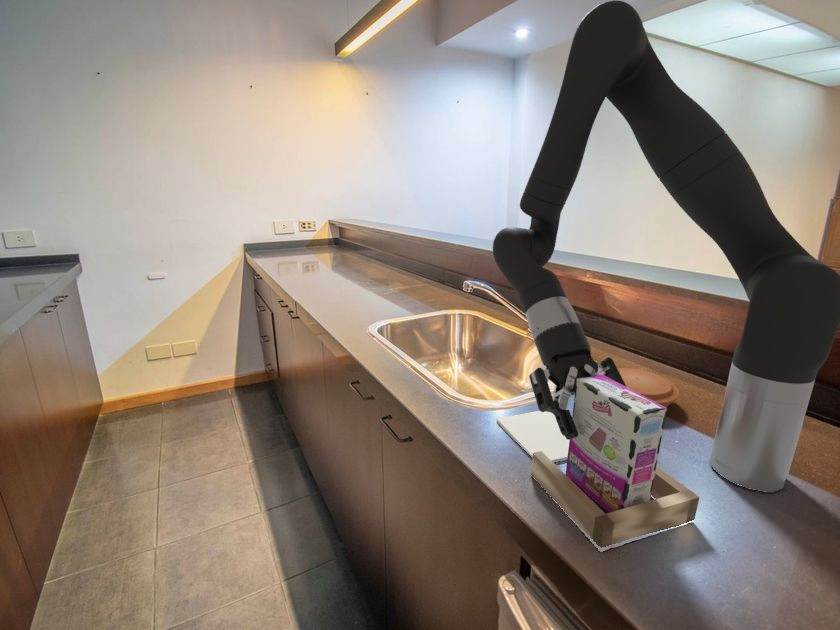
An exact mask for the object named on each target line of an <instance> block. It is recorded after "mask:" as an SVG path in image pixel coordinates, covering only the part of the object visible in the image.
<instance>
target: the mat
mask: <svg viewBox="0 0 840 630" xmlns="http://www.w3.org/2000/svg"><path fill="white" fill-rule="evenodd" d="M496 423H497V424H498V425H499V426H500V427H501V428H502V429H503V430H504V431H505V432H506V434H508V435H509V436H510V437H511V438H512V440H513V441H514V442H515V443H516V442H517V443H518V444H519V445H520V446H521V447H522V448H521V447H520V448H521V449H522V450H523V449H524V450H525V451H526V452H527V453H528V454H529V455H530V456H531V457H532V456H533V453H535V452H539V451H542V452H543V453H544V454H545V455H546V456H547V457H548V458H549V459H550V460H551V461H552V462H553V463H554V464H555V462H556V463H559V461H560V462H563V461H567V457H568V450H569V442H570V439H569V440H568V439H566V437H565V436H563V435H562V433H561V431H560V428H559V426H558V423H557V421H556V418H555V416H554V414H553V413H551V412H546V411H545V412H541V411H540V410H537V411H531V412H525V413H519V414H515V415H509V416H504V417H499V418H496ZM517 443H516V444H517ZM518 444H517V445H518ZM519 445H518V446H519ZM524 450H523V451H524ZM525 451H524V452H525ZM526 452H525V453H526ZM527 453H526V454H527ZM528 454H527V455H528ZM529 455H528V456H529ZM530 456H529V457H530ZM531 457H530V458H531Z"/></svg>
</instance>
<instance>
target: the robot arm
mask: <svg viewBox="0 0 840 630" xmlns="http://www.w3.org/2000/svg"><path fill="white" fill-rule="evenodd" d="M565 65H566V66H565V71H564V74H563V78H562V82H561V86H560V91H559V93H558V97H557V101H556V104H555V107H554V109H553V113H552V117H551V121H550V122H549V126H548V129H547V132H546V134H545V138H544V141H543V143H542V145H541V148H540V150H539V153H538V156H537V159H536V161H535V163H534V166H533V169H532V170H531V173H530V175H529V178H528V180H527V183H526V185H525V188H524V191H523V193H522V196H521V198H520V201H519V208H520V210H521V211H522V212H523V214H525V215H527V216H529V217H531V218H530V225H529V228H522V227H517V226H516V227H515V226H508V227H504V228H502V229H500V230H499V231H498V233H496V235H495V237H494V239H493V243H492V253H493V258H494V261H495V263H496V266H497V268H499V270H500V272H501V273H502V275H503V276H504V277H505V279H506V280H507V282H508V283H509V285H510V287H512V289H513V290H514V291H515V292H516V294H517V295H518V298H519V300H520V303H521V306H522V309H523V311H524V313H525V317H526V320H527V324H528V329H529V331H530V333H531V336H532V340H533V341H534V345H535V347H536V350H537V352H538V355H539V357H540V360H541V363H542V365H543V366H544V367H545V368H546V369H543V368H542V367H537V368H536V369H534V371H532V372H531V373H530V374H529V376H528V377H529V378H528V379H529V382H530V385H531V387H532V391H533V395H534V397H535V401H536V404H537V407H538V411H541V412H545V411H546V412H551V413H553V414H554V416H555V418H556V421H557V423H558V426H559V428H560V431H561V433H562V435H563V436H565V437H566V439H568V440H569V439H573V438H575V437H577V436H578V432H577V429H576V426H575V424H574V421H573V419H572V413H571V411H570V409H567V407H568V403H569V399H570V397H571V396H575V389H576V381H577V380H576V379H578V378H584V377H589V376H594V375H600V374H603V375H604V376H606V377H608V378H610V379H612V380H614V381H616V382H618V383H620V384H622V385H624V386H626V385H625V383H624V381H623V379H622V377H621V375H620V373H619V371H618V369H617V368H618V367H617V365H616V363H615V362H614V360H613V358H611V357H610V356H608V357H606V358H604V359H602V360H599V361H596V360H594V358H593V357H592V355H591V348H592V347H591V345H590V343H589V341H588V338H587V336H586V333H585V332H584V329H583V327H582V325H581V323H580V321H579V318H578V316H577V313H576V312H575V309H574V308H573V306H572V304H571V303H570V301H569V300H568V297H567V295H566V293H565V291H564V288H563V286H562V284H561V282H560V280H559V277H558V276H557V274H555V273H554V272H553V271H552V270H549V269H547V268H545V267H544V266H546V265H547V264H548V263H549V262H550V259H551V258H552V256H553V255H554V252H555V249H556V248H555V247H556V243H557V238H558V232H559V226H560V221H561V220H560V219H561V213H562V211H563V209H564V207H565V205H566V202H567V200H568V199H569V196H570V193H571V192H572V189H573V187H574V184H575V182H576V180H577V177H578V175H579V173H580V172H579V171H580V170H581V169H580V168H581V166H582V162H583V160H584V155H585V152H586V148H587V145H588V141H589V138H590V135H591V133H592V129H593V126H594V123H595V121H596V118H597V116H598V114H599V111H600V109H601V107H602V105H603V103H604V101H605V99H607V100H608V101H609V102H610V103H611V104H612V106H614V107H615V108H616V110H617V111H618V112H619V113H620V114H621V115H622V117H623V118H624V119H625V120H626V122H627V124H628V125H629V128H630V129H631V131H632V133H633V135H634V138H635V139H636V141H637V143H638V146H639V148H640V150H641V152H642V154H643V156H644V157H645V159H646V161H647V163H648V164H649V166H650V167H651V168H650V169H651V170H652V171H653V173H654V174H655V176H656V178H658V179H659V181H660V182H661V184H662V185H663V187H664V188H665V190H666V191H667V192H668V194H670V196H671V198H672V199H673V200H674V201H675V202H676V204H677V205H678V206H679V207H680V208H681V209H682V210H683V211H684V212H685V214H686V215H687V216H688V217H689V218H690V219H691V220H692V221H693V222H694V223H695V224H696V225H697V226H698V227H699V228H700V229H701V230H702V231H703V232H705V234H706V235H707V236H708V237H709V238H710V239H712V241H713V242H714V243H715V244H716V245H717V246H718V248H720V250H721V251H722V253H723V254H724V256H725V258H726V259H727V260H728V262H729V264H730V266H731V267H732V269H733V271H734V272H735V275H736V276H737V278H738V280H739V281H740V283H741V285H742V287H743V289H744V292H745V294H746V297H747V299H748V300H749V305H748V310H747V313H746V318H745V323H744V327H743V330H742V334H741V337H740V340H739V342H738V343H736V346H735V348H734V352H733V356H732V359H731V360H732V361H731V365H730V369H729V373H728V378H727V383H726V386H725V391H724V396H723V401H722V405H721V408H720V409H721V410H720V412H719V413H720V414H719V417H718V423H717V426H716V432H715V435H714V440H713V443H712V447H711V452H710V457H709V462H710V463H709V465H710V464H711V465H710V467H711V466H712V467H713V469H714V470H716V471H717V472H718V473H719V474H721V475H722V476H723V477H725V478H726V479H728V480H729V481H731V482H734V483H736V484H739V485H742V486H744V487H747V488H751V489H755V490H759V491H767V492H766V493H775V492H774V491H777V492H779V491H778V490H780V489H781V490H782V489H784V486H785V484H786V477H787V476H788V477H789V475H790V474H789V473H790V469H791V467H792V464H793V460H794V456H795V454H796V453H795V452H796V449H797V446H798V444H799V439H800V437H801V432H802V429H803V424H804V419H805V417H806V413H807V410H808V407H809V403H810V399H811V396H812V393H813V392H812V391H813V388H814V385H815V381H816V379H817V375H818V373H819V370H820V369H821V368H822V367H823V365H824V364H825V362H826V361H827V359H828V357H829V355H830V352H831V350H832V348H833V344H834V341H835V339H836V336H837V332H838V330H839V327H840V274H839V273H838V272H837V270H835V269H834V268H832V267H831V266H829V265H827V264H825V263H824V262H822V261H820V260H818V259H817V258H815V257H814V256H813V255H812V254H810V253H809V252H808V251H807V250H806V249H805V248H804V247H803V246H802V245H801V244H800V243H799V242H798V241H797V240H796V239H795V237H793V236H792V234H791V233H790V232H789V231H788V230H787V229H786V227H784V225H782V223H781V222H780V221H779V219H778V218H777V217H776V215H775V214H774V212H773V211H772V209H771V207H770V205H769V202H768V201H767V198H766V195H765V194H764V192H763V190H762V186H761V185H760V183H759V181H758V178H757V177H756V175H755V172H754V171H753V170H752V168H751V166H750V164H749V163H748V161H747V160H746V157H744V155H743V153H742V152H741V151H740V149H739V148H738V146H737V145H736V144H735V143H734V141H733V140H732V138H731V137H730V136H729V135H728V133H727V132H726V131H725V130H724V128H723V127H722V126H721V124H720V123H719V122H717V121H716V120H715V118H714V117H712V115H711V114H710V113H708V111H707V110H706V109H705V108H703V107H702V106H701V105H700V104H699V103H698V102H697V101H695V100H694V99H693V98H692V97H690V96H689V94H687V93H686V92H685V91H683V90H682V88H680V87H679V86H678V85H677V84H676V83H675V81H674V80H673V79H672V78H671V76H670V75H669V73H668V71H667V70H666V69H665V67H664V65H663V64H662V62H661V60H660V59H659V57H658V56H657V54H656V51H655V50H654V47H653V46H652V44H651V42H650V40H649V37H648V36H647V32H646V29H645V27H644V25H643V21H642V18H641V17H640V15H639V12H638V11H637V10H636V9H635V8H634V6H632V5H631V4H630V3H628V2H625V1H622V0H608V1H604V2H603V3H600V4H598V5H596V6H595V7H593V8H592V9H591V10H590V11H588V12H587V13H586V14H585V16H584V17H583V18H582V20H580V22H579V24H578V26H577V28H576V30H575V32H574V35H573V38H572V41H571V46H570V49H569V54H568V57H567V62H566V64H565ZM548 382H551V383H552V384H553V385H555V386H554V389H553V393H552V392H551V390H550V385H549V383H548ZM626 387H627V386H626ZM712 467H711V468H712ZM713 469H712V470H713ZM714 470H713V471H714ZM723 477H722V478H723ZM788 477H787V478H788ZM726 479H725V480H726ZM728 480H727V481H728ZM729 481H728V482H729ZM731 482H730V483H731ZM736 484H735V485H736ZM781 490H780V491H781ZM759 491H758V492H759Z"/></svg>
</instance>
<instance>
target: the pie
mask: <svg viewBox="0 0 840 630" xmlns="http://www.w3.org/2000/svg"><path fill="white" fill-rule="evenodd" d="M617 369H618V371H619V373H620V375H621V377H622V379H623V381H624V383H625V385H626V386H627V388H629V389H631V390H633V391H635V392H637V393H639V394H641V395H643V396H645V397H647V398H649V399H651V400H652V401H654V402H656V403H658V404H660V405H662V406H664V407H666V408H667V407H668V406H670V405H671V404H672V403H674V402H676V401H677V400H678V399H679V397H680V396H681V393H680V392H681V391H680V389H679V388H678V387H677V386H676V385H675V384H674V383H673V382H671V381H670V380H668V379H667V378H665V377H663V376H661V375H659V374H656V373H654V372H650V371H647V370H643V369H640V368H639V369H638V368H632V367H617Z"/></svg>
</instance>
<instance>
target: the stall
mask: <svg viewBox="0 0 840 630" xmlns="http://www.w3.org/2000/svg"><path fill="white" fill-rule="evenodd" d="M530 469H531V470H530V476H531V475H532V476H533V477H534V478H535V479H536V480H537V482H538V483H539V484H540V485H541V486H542V487H543V488H544V489H545V490H546V491H547V493H549V495H550V496H551V497H552V498H553V499H554V500H555V501H556V502H557V503H558V505H560V506H561V508H563V509H564V511H565V512H566V513H567V514H568V515H569V516H570V517H571V518H572V519H573V520H574V521H575V523H577V524H578V525H579V527H580V528H582V529H583V530H584V531H585V532H586V533H587V534H588V535H589V536H590V538H591V539H593V541H594V542H596V544H597V545H598V546H600V547H601V548H602V547H606V546H609V545H612V544H616V543H620V542H622V541H626V540H629V539H631V538H635V537H639V536H642V535H646V534H649V533H653V532H657V531H660V530H664V529H668V528H671V527H676V526H679V525H681V524H684V523H687V522H689V521H692V520H694V519H696V513H697V511H698V510H697V509H698V506H699V501H700V496H699V495H697V494H696V493H695V492H694V491H693V490H691V489H689V488H688V487H686V486H685V485H684V484H682V483H681V482H679V480H677V479H675V478H674V476H673V477H672V476H671V475H670V474H668V473H667V472H665V470H663V469H662V468H660V467H659V466H658V465H656V471H655V476H654V482H653V487H652V492H651V495H652V496H653V497H654V498H656V499H655V500H654V499H652V500H651V499H650V501H648V502H645V503H641V504H638V505H634V506H631V507H628V508H624V509H621V510H617V511H614V512H610V513H606V512H605V511H604V510H603V509H601V508H600V507H599V506H598V505H597V504H596V503H595V502H594V501H593V500H591V499H590V498H589V497H588V496H587V495H586V494H585V493H584V492H583V491H582V490H581V489H580V488H579V487H578V486H577V485H576V484H574V483H573V482H572V481H571V480H570V479H569V478H568V477H567V476H566V473H565V472H563V471H562V470H561V469H560V468H559V467H558V465H556V464H555V463H553V462H552V461H551V460H550V459H549V458H548V457H547V456H546V455H545V454H544V453H543V452H542V451H539V452H535V453H533V456H532V458H531V468H530ZM532 476H531V477H532ZM533 477H532V478H533ZM537 482H536V483H537ZM538 483H537V484H538ZM539 484H538V485H539ZM540 485H539V486H540ZM541 486H540V487H541ZM542 487H541V488H542ZM547 493H546V494H547ZM549 495H548V496H549ZM550 496H549V497H550ZM558 505H557V506H558ZM694 521H695V520H694Z"/></svg>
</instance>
